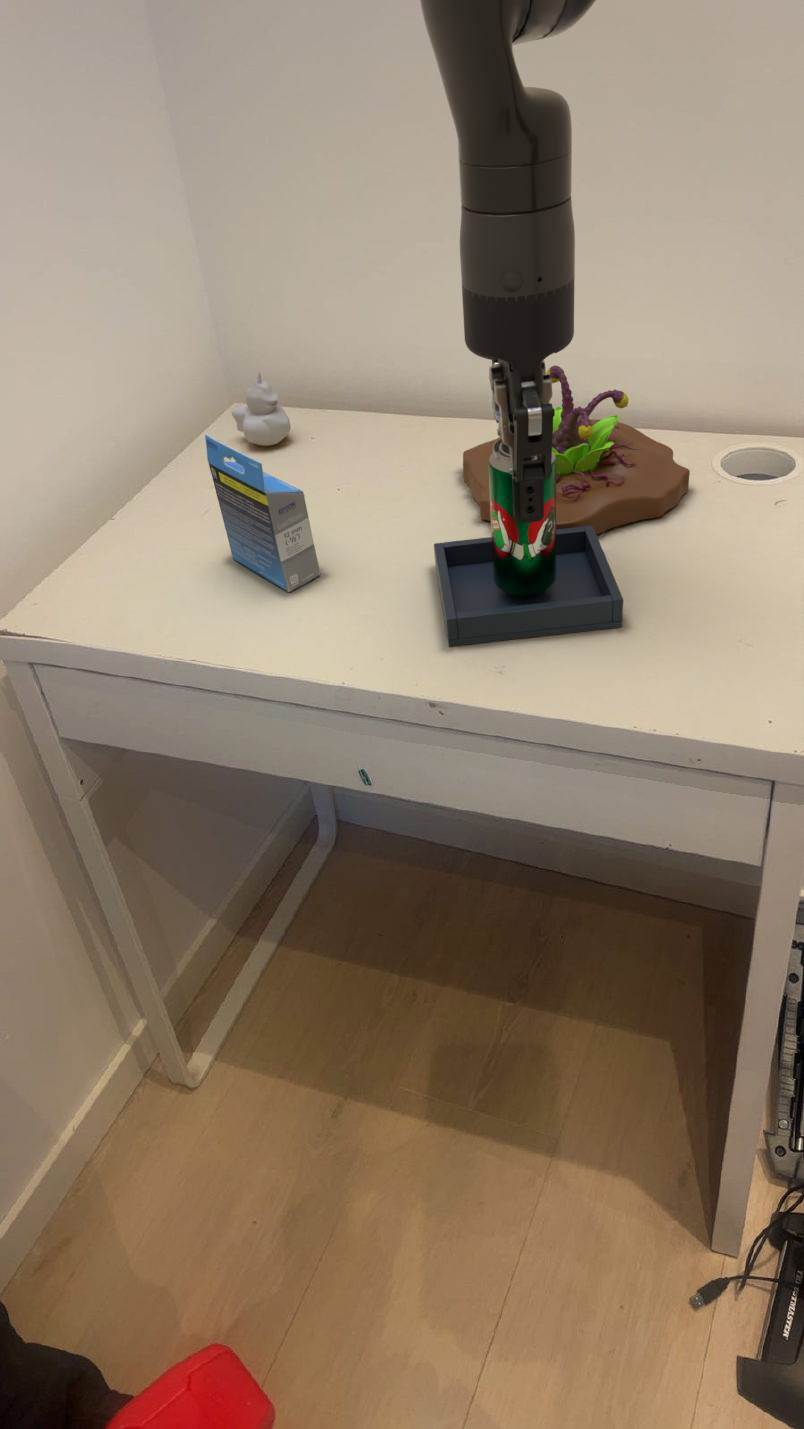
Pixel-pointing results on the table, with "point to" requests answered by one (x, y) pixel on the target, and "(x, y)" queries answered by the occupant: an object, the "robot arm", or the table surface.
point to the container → (564, 607)
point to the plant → (595, 468)
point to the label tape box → (263, 518)
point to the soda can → (520, 532)
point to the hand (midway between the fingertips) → (522, 501)
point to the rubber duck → (262, 415)
